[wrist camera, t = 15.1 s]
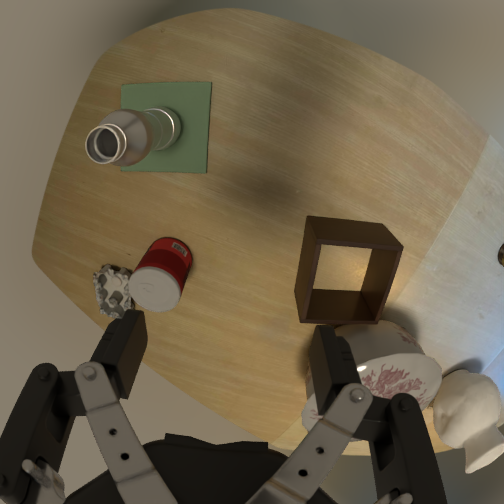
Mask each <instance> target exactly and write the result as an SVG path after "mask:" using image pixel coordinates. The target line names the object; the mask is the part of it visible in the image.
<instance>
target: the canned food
mask: <svg viewBox="0 0 504 504" xmlns="http://www.w3.org/2000/svg"><path fill="white" fill-rule="evenodd" d="M191 265H192V258H191V254H190V251H189V250H188V248H187V247H186V246H185V245H184V244H183V243H182V242H180V241H179V240H176V239H173V238H162V239H160V240H157V241H155V242H154V243H153V244H152V245H151V246H150V247H149V249H148V250H147V252H146V253H145V255H144V256H143V258H142V259H141V261H140V262H139V264H138V266H137V267H136V269H135V270H134V272H133V274H132V275H131V277H130V280H129V284H128V285H129V292H130V294H131V296H132V298H133V299H134V301H135V302H136V303H137V304H139V305H140V306H141V307H143V308H145V309H147V310H150V311H154V312H166V311H169V310H171V309H173V308H174V307H175V306H176V305H177V303H178V302H179V300H180V297H181V294H182V291H183V288H184V285H185V282H186V279H187V276H188V274H189V271H190V268H191Z"/></svg>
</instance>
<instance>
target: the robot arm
mask: <svg viewBox="0 0 504 504" xmlns="http://www.w3.org/2000/svg"><path fill="white" fill-rule="evenodd" d="M147 341H148V336H147V329H146V323H145V316H144V312H143V311H141V310H133V309H127V310H126V312H125V314H124V316H123V318H122V319H120V318H116V319H115V320H114V321H112V322H111V323H110V324H109V325H108V327H107V329H106V331H105V333H104V335H103V336H102V339H101V340H100V342H99V344H98V346H97V348H96V349H95V351H94V353H93V355H92V357H91V360H90V361H89V362H85V363H83V364H81V365H80V366H79V367H78V368H77V369H76V371H64V372H63V371H62V372H58V370H57V368H56V367H55V366H54V365H53V364H50V363H42V364H39V365H38V366H36V367H35V368H34V369H33V370H32V372H31V374H30V376H29V378H28V380H27V382H26V384H25V386H24V388H23V389H22V391H21V394H20V396H19V398H18V400H17V402H16V404H15V406H14V408H13V410H12V413H11V415H10V417H9V419H8V421H7V423H6V426H5V428H4V431H3V433H2V435H1V438H0V499H2V500H3V501H4V502H5V503H6V504H338V503H336V502H335V501H334V500H333V499H332V498H331V497H330V496H329V495H328V494H327V493H325V492H324V491H323V490H322V489H321V488H320V487H319V486H320V485H321V484H322V482H323V481H324V479H325V478H326V476H327V475H328V474H329V472H330V471H331V469H332V468H333V466H334V465H335V463H336V462H337V460H338V459H339V457H340V456H341V454H342V453H343V451H344V450H345V448H346V446H347V445H348V443H349V442H350V440H351V438H355V439H360V440H366V441H368V442H369V447H370V453H371V459H372V465H373V471H374V478H375V485H376V491H377V499H378V501H376V502H375V503H374V504H447V500H446V496H445V491H444V487H443V483H442V480H441V475H440V472H439V468H438V464H437V460H436V457H435V453H434V450H433V447H432V443H431V440H430V437H429V433H428V430H427V427H426V424H425V421H424V418H423V415H422V412H421V409H420V406H419V403H418V401H417V400H416V398H415V397H413V396H412V395H410V394H408V393H398V394H395V395H394V396H393V397H392V399H387V398H382V397H377V396H374V395H372V393H371V391H370V390H369V389H368V388H367V387H366V386H364V385H362V382H361V379H360V376H359V372H358V369H357V366H356V363H355V360H354V357H353V354H352V351H351V348H350V345H349V343H348V342H347V341H346V340H345V338H344V337H343V336H336V334H335V330H334V327H333V326H332V325H316V327H315V331H314V335H313V338H312V342H311V346H310V350H309V363H310V369H311V374H312V380H313V386H314V392H315V398H316V404H317V410H318V416H323V417H322V418H320V419H319V420H318V421H317V422H316V424H315V425H314V426H313V428H312V429H311V430H310V432H309V433H308V434H307V435H306V437H305V438H304V439H303V440H302V442H301V443H300V444H299V445H298V447H297V448H296V449H295V450H294V452H293V453H292V454H291V455H290V457H287V456H286V455H284V454H282V453H280V452H278V451H275V450H272V449H268V442H250V441H241V442H234V443H227V444H219V445H215V444H211V443H208V442H205V441H202V440H199V439H196V438H193V437H190V436H183V435H175V434H169V433H166V434H165V439H163V440H157V441H152V442H149V443H146V444H144V445H141V443H140V441H139V440H138V437H137V436H136V434H135V432H134V430H133V428H132V426H131V424H130V422H129V420H128V418H127V416H126V414H125V412H124V410H123V408H122V406H121V404H120V402H119V400H120V398H123V399H128V397H129V394H130V392H131V389H132V386H133V383H134V380H135V377H136V374H137V372H138V369H139V366H140V363H141V361H142V358H143V355H144V352H145V350H146V347H147ZM76 416H87V419H88V422H89V424H90V427H91V430H92V432H93V435H94V437H95V439H96V442H97V444H98V447H99V449H100V451H101V454H102V456H103V458H104V460H105V462H106V464H107V466H108V470H107V471H105V472H104V473H102V474H100V475H99V476H98V477H96V478H95V479H93V480H92V481H90V482H88V483H87V484H85V485H84V486H82V487H81V488H79V489H78V490H76V491H75V492H73V493H72V494H70V495H69V496H68V497H67V498H65V495H64V482H63V479H62V478H61V476H60V475H59V474H58V471H59V468H60V464H61V461H62V458H63V454H64V451H65V448H66V445H67V441H68V438H69V435H70V432H71V429H72V426H73V423H74V420H75V417H76Z"/></svg>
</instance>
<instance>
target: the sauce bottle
mask: <svg viewBox="0 0 504 504" xmlns="http://www.w3.org/2000/svg"><path fill="white" fill-rule="evenodd" d="M498 259H499V262H500V264H501V265H503V267H504V244H503V245H502V247H501V249H500V251H499V255H498Z"/></svg>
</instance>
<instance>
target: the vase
mask: <svg viewBox="0 0 504 504" xmlns="http://www.w3.org/2000/svg"><path fill="white" fill-rule="evenodd" d="M500 410H501V399H500V392H499V389H498V387H497V385H496V384H495V383H494V382H493V380H492V379H491V378H489V377H488V376H486V375H483V374H479V373H469V372H468V371H467V370H465V369H462V370H457V371H454V372H452V373H450V374H448V375H447V376H446V377H444V378H443V379H442V382H441V385H440V387H439V389H438V394H437V395H436V397H435V399H434V404H433V423H434V427H435V430H436V432H437V434H438V435H439V438H440V439H441V441H442V442H443V443H444V444H446V445H448V446H450V447H453V448H456V449H458V448H463V447H464V448H465V451H466V467H465V472H466V473H472V472H474V471H475V470H478V469H480V468H482V467H484V466H486V465H488V464H490V463H491V462H493V461H494V460H495V459H496V458H497V457H499V456H500V455H501V454H502V453H503V452H504V436H503V435H502V434H501V432H500V431H499V430H498V429H497V427H496V426H495V425H496V424H497V422H498V420H499V416H500Z"/></svg>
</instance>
